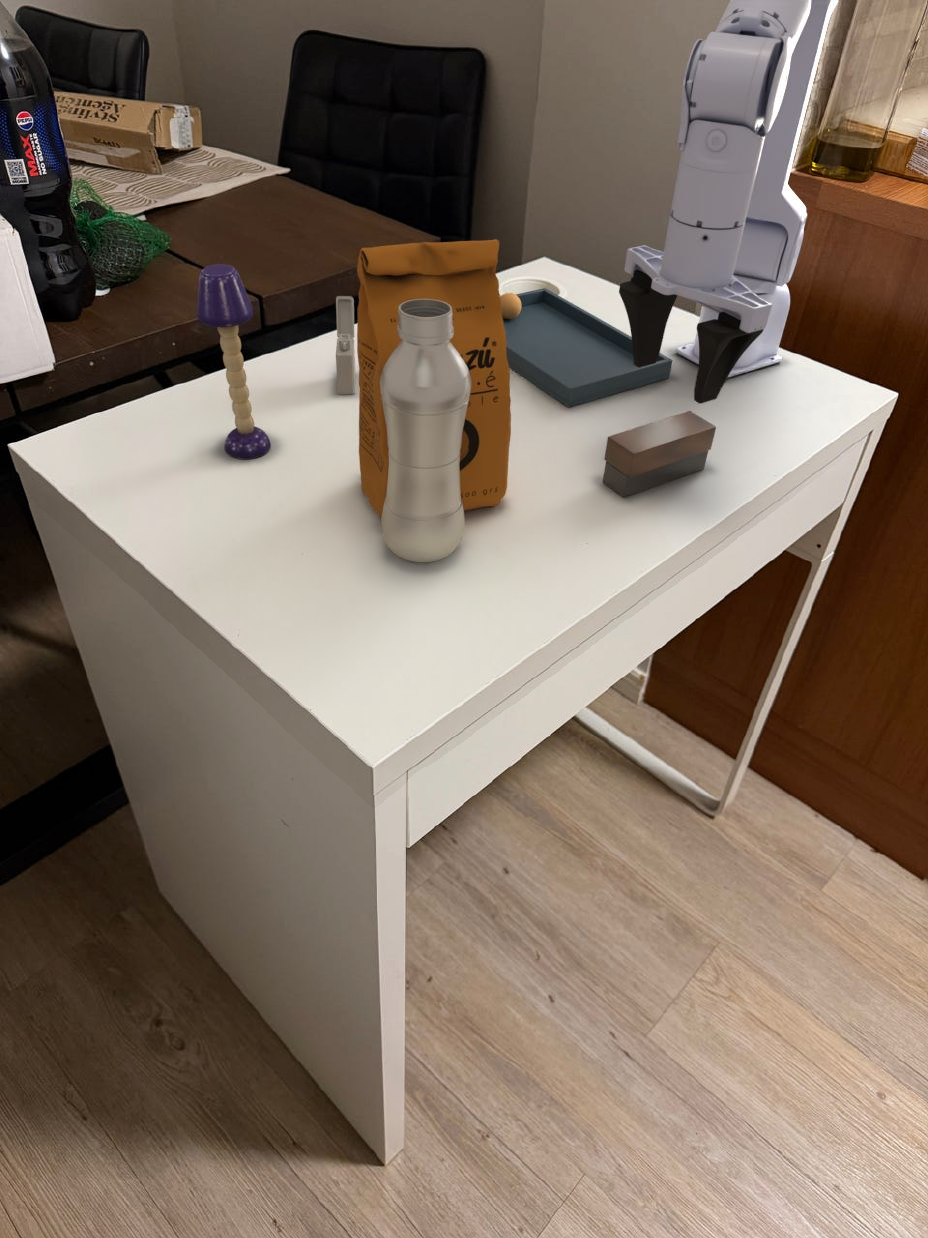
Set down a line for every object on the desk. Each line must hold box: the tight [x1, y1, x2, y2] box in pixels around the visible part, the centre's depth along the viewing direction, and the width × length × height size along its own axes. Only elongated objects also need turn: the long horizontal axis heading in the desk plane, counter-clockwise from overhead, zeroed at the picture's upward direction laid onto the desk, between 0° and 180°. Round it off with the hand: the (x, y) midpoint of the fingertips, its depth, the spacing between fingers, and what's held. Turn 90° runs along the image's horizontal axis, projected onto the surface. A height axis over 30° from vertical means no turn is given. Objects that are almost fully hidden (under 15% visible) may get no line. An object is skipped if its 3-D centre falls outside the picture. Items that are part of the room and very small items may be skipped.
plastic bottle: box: [380, 299, 471, 563], centre depth 69 cm, size 6×7×20 cm
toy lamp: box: [196, 263, 272, 460], centre depth 81 cm, size 5×5×17 cm
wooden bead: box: [500, 292, 522, 319], centre depth 109 cm, size 3×3×3 cm
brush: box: [602, 410, 717, 498], centre depth 84 cm, size 10×4×5 cm, turn 123°
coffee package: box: [356, 238, 512, 518], centre depth 74 cm, size 10×12×22 cm
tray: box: [503, 287, 674, 408], centre depth 105 cm, size 14×23×2 cm, turn 33°
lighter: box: [335, 295, 356, 395], centre depth 95 cm, size 7×2×8 cm, turn 4°
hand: (674, 381), depth 79 cm, fingers open, 7 cm apart
